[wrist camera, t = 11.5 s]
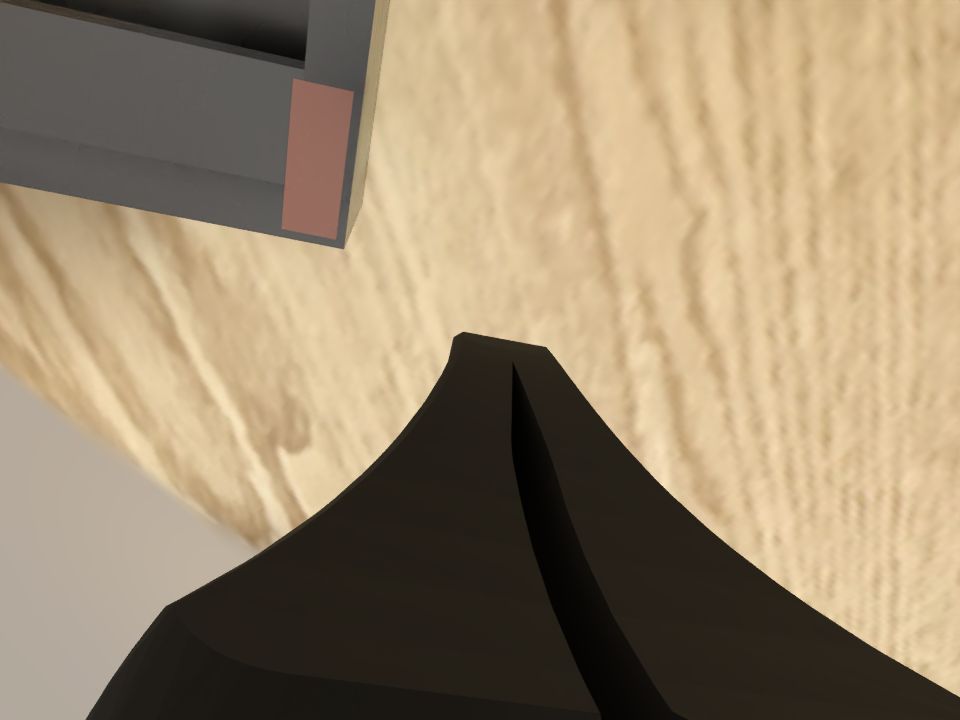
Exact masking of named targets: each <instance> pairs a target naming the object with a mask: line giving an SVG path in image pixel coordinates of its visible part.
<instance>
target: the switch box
mask: <svg viewBox="0 0 960 720" xmlns="http://www.w3.org/2000/svg"><path fill="white" fill-rule="evenodd" d="M389 3H390V0H0V182H3V183H8V184H13V185H18V186H23V187H28V188H34V189H39V190H44V191H49V192H54V193H59V194H64V195H69V196H74V197H80V198H85V199H90V200H95V201H100V202H105V203H110V204H115V205H120V206H126V207H131V208H136V209H141V210H146V211H151V212H156V213H161V214H166V215H172V216H177V217H182V218H187V219H192V220H197V221H202V222H207V223H212V224H218V225H223V226H228V227H233V228H238V229H243V230H248V231H253V232H258V233H264V234H269V235H274V236H279V237H284V238H289V239H294V240H299V241H304V242H310V243H315V244H320V245H325V246H330V247H335V248H340V249H344V248H345V246H346V243H347V241H348V238H349V236H350V233H351V231H352V228H353V226H354V223H355V220H356V218H357V215H358V213H359V210H360V208H361V205H362V201H363V193H364V186H365V179H366V171H367V164H368V157H369V149H370V142H371V135H372V127H373V120H374V113H375V105H376V98H377V91H378V83H379V76H380V69H381V61H382V54H383V47H384V39H385V32H386V25H387V17H388V10H389Z"/></svg>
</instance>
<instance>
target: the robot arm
mask: <svg viewBox="0 0 960 720" xmlns="http://www.w3.org/2000/svg"><path fill="white" fill-rule="evenodd" d="M86 720H960V697H958V696H957V695H955V694H953V693H951V692H950V691H948V690H946V689H944V688H943V687H941V686H939V685H937V684H936V683H934V682H932V681H930V680H929V679H927V678H925V677H923V676H922V675H920V674H918V673H916V672H915V671H913V670H911V669H909V668H908V667H906V666H904V665H902V664H901V663H899V662H897V661H896V660H894V659H892V658H890V657H889V656H887V655H885V654H883V653H882V652H880V651H878V650H877V649H875V648H873V647H872V646H870V645H869V644H867V643H865V642H864V641H862V640H861V639H859V638H858V637H856V636H855V635H853V634H852V633H850V632H848V631H847V630H845V629H844V628H842V627H841V626H839V625H838V624H836V623H835V622H833V621H832V620H830V619H829V618H827V617H826V616H824V615H822V614H821V613H819V612H818V611H816V610H815V609H813V608H812V607H810V606H809V605H808V604H806V603H805V602H803V601H802V600H800V599H799V598H798V597H796V596H795V595H793V594H792V593H791V592H789V591H788V590H786V589H785V588H783V587H782V586H781V585H779V584H778V583H776V582H775V581H774V580H772V579H771V578H770V577H769V576H767V575H766V574H765V573H763V572H762V571H761V570H759V569H758V568H757V567H756V566H754V565H753V564H752V563H750V562H749V561H748V560H746V559H745V558H744V557H743V556H741V555H740V554H739V553H737V552H736V551H735V550H734V549H732V548H731V547H730V546H729V545H727V544H726V543H725V542H724V541H722V540H721V539H720V538H719V537H718V536H716V535H715V534H714V533H713V532H712V531H710V530H709V529H708V528H707V527H706V526H705V525H704V524H703V523H701V522H700V521H699V520H698V519H697V518H696V517H695V516H694V515H693V514H692V513H690V512H689V511H688V510H687V509H686V508H685V507H684V506H683V505H682V504H681V503H680V502H678V501H677V500H676V499H675V498H674V497H673V496H672V495H671V494H670V493H669V492H668V491H667V490H666V489H665V488H664V487H663V486H662V485H661V484H660V483H659V482H658V481H657V480H656V479H655V478H654V477H653V476H652V475H651V474H650V473H649V472H648V471H647V470H646V469H645V468H644V467H643V465H642V464H641V463H640V462H639V461H638V460H637V459H636V458H635V457H634V456H633V455H632V454H631V453H630V451H629V450H628V449H627V448H626V447H625V446H624V445H623V444H622V442H621V441H620V440H619V439H618V438H617V437H616V435H615V434H614V433H613V432H612V431H611V430H610V428H609V427H608V426H607V425H606V424H605V422H604V421H603V420H602V419H601V417H600V416H599V415H598V414H597V412H596V411H595V410H594V409H593V407H592V406H591V405H590V404H589V402H588V401H587V400H586V398H585V397H584V396H583V394H582V393H581V392H580V391H579V389H578V388H577V387H576V385H575V384H574V383H573V381H572V380H571V379H570V377H569V376H568V375H567V373H566V372H565V371H564V369H563V368H562V367H561V365H560V364H559V363H558V361H557V360H556V359H555V357H554V356H553V355H552V353H551V352H550V351H549V350H548V349H547V347H542V346H537V345H532V344H526V343H521V342H515V341H510V340H505V339H499V338H494V337H489V336H483V335H478V334H472V333H467V332H462V333H460V334H458V335H457V336H455V337H454V338H453V342H452V347H451V351H450V356H449V360H448V363H447V365H446V367H445V369H444V371H443V373H442V375H441V376H440V378H439V380H438V381H437V383H436V385H435V386H434V388H433V389H432V391H431V393H430V394H429V396H428V398H427V399H426V401H425V402H424V403H423V405H422V406H421V408H420V409H419V410H418V411H417V413H416V414H415V415H414V417H413V418H412V419H411V421H410V422H409V423H408V424H407V426H406V427H405V428H404V430H403V431H402V432H401V433H400V435H399V436H398V437H397V438H396V439H395V440H394V442H393V443H392V444H391V445H390V446H389V447H388V448H387V449H386V450H385V452H384V453H383V454H382V455H381V456H380V457H379V458H378V459H377V460H376V461H375V462H374V463H373V464H372V465H371V466H370V467H369V468H368V469H367V470H366V471H365V472H364V473H363V474H362V475H361V476H359V477H358V478H357V479H356V480H355V481H354V482H353V483H352V484H350V485H349V486H348V487H347V488H346V489H345V490H344V491H343V492H341V493H340V494H339V495H338V496H337V497H336V498H335V499H333V500H332V501H331V502H330V503H329V504H327V505H326V506H325V507H324V508H322V509H321V510H320V511H319V512H317V513H316V514H315V515H313V516H312V517H311V518H309V519H308V520H306V521H305V522H303V523H302V524H301V525H299V526H298V527H296V528H295V529H293V530H292V531H291V532H289V533H288V534H286V535H285V536H283V537H282V538H281V539H279V540H278V541H276V542H275V543H273V544H272V545H271V546H269V547H268V548H266V549H265V550H263V551H262V552H260V553H259V554H257V555H256V556H254V557H253V558H251V559H249V560H248V561H246V562H245V563H243V564H241V565H239V566H238V567H236V568H234V569H232V570H230V571H229V572H227V573H225V574H223V575H222V576H220V577H218V578H216V579H214V580H213V581H211V582H209V583H207V584H206V585H204V586H202V587H200V588H199V589H197V590H195V591H193V592H192V593H190V594H188V595H186V596H184V597H183V598H181V599H179V600H177V601H175V602H173V603H171V604H169V605H167V606H166V607H165V608H164V609H163V610H162V612H161V613H160V614H159V615H158V617H157V618H156V619H155V620H154V622H153V623H152V624H151V625H150V627H149V628H148V629H147V631H146V632H145V633H144V634H143V636H142V637H141V638H140V640H139V641H138V642H137V644H136V645H135V646H134V648H133V649H132V650H131V652H130V653H129V654H128V656H127V657H126V659H125V660H124V662H123V663H122V665H121V666H120V667H119V669H118V670H117V672H116V673H115V674H114V676H113V677H112V679H111V680H110V682H109V683H108V685H107V687H106V688H105V690H104V691H103V693H102V695H101V696H100V698H99V699H98V701H97V703H96V704H95V706H94V707H93V709H92V710H91V712H90V713H89V715H88V717H87V718H86Z"/></svg>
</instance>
